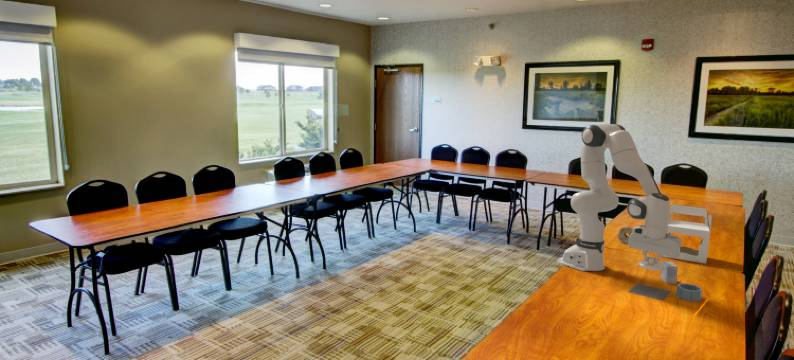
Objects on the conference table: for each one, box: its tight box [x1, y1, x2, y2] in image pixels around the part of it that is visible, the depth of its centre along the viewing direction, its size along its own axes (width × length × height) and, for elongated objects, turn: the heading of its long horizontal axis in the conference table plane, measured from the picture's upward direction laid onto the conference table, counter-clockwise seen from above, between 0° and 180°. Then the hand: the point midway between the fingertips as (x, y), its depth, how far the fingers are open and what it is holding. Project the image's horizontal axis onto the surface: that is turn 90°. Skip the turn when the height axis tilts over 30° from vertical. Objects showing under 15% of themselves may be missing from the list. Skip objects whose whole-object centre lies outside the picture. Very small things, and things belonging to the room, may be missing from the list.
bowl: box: [675, 282, 703, 302], centre depth 216 cm, size 9×9×5 cm
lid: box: [637, 255, 664, 272], centre depth 220 cm, size 10×10×4 cm
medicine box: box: [660, 261, 679, 285], centre depth 235 cm, size 8×4×9 cm, turn 168°
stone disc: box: [617, 226, 634, 245], centre depth 298 cm, size 10×4×10 cm, turn 41°
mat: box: [627, 283, 672, 301], centre depth 222 cm, size 14×14×1 cm
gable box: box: [662, 204, 713, 264], centre depth 272 cm, size 22×13×28 cm, turn 57°
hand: (651, 262), depth 220 cm, fingers closed on lid, 3 cm apart
